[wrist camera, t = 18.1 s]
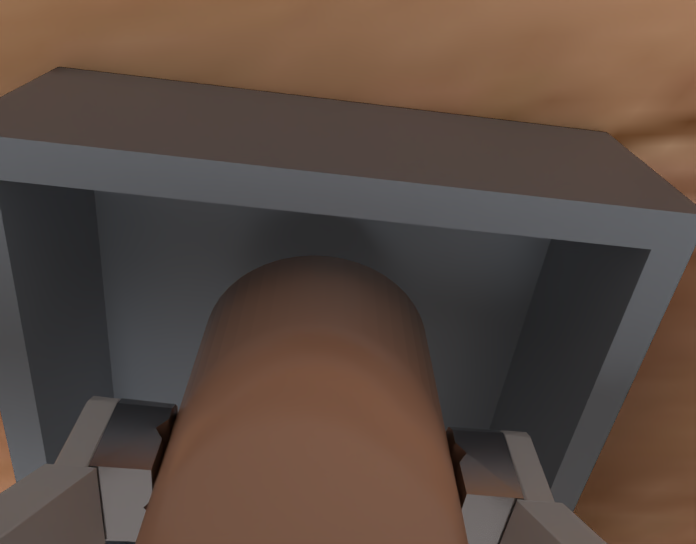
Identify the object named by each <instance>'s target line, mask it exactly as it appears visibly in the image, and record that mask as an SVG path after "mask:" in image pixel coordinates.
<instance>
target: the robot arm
mask: <svg viewBox="0 0 696 544" xmlns="http://www.w3.org/2000/svg"><path fill="white" fill-rule="evenodd" d="M177 414H178V406H177V405H176V404H170V403H161V402H152V401H142V400H133V399H124V398H121V399H117V398H109V397H100V396H93V397H92V398H90V399H89V400H88V401H87V403H86V404H85V406H84V408H83V410H82V412H81V414H80V416H79V418H78V420H77V422H76V423H75V425H74V427H73V429H72V431H71V433H70V435H69V437H68V439H67V441H66V443H65V444H64V446H63V448H62V450H61V452H60V454H59V456H58V458H57V460H56V462H55V463H54V464H44V465H43V466H41V467H40V468H38V469H37V470H35V471H34V472H32V473H31V474H29V475H28V476H26V477H25V478H23V479H22V480H20V481H18V482H17V483H15V484H14V485H12V486H11V487H9V488H8V489H6V490H5V491H3V492H2V493H0V544H105V541H130V542H136V540H137V537H138V534H139V530H140V527H141V524H142V521H143V518H144V515H145V512H146V509H147V506H148V503H149V500H150V497H151V494H152V491H153V488H154V485H155V481H156V478H157V475H158V472H159V469H160V466H161V463H162V460H163V457H164V454H165V451H166V448H167V445H168V442H169V439H170V435H171V432H172V429H173V426H174V423H175V420H176V417H177ZM446 436H447V441H448V446H449V451H450V456H451V461H452V465H453V470H454V475H455V480H456V485H457V490H458V495H459V500H460V505H461V510H462V515H463V520H464V524H465V529H466V534H467V539H468V544H607V543H606V542H605V541H604V540H603V539H602V538H601V537H599V536H598V535H597V534H596V533H595V532H594V531H593V530H592V529H591V528H590V527H588V526H587V525H586V524H585V523H584V522H583V521H582V520H581V519H580V518H579V517H577V516H576V515H575V514H574V513H573V512H572V511H571V510H570V509H569V508H568V507H566V506H565V505H564V504H563V503H557V502H555V501H554V499H553V496H552V493H551V491H550V488H549V485H548V483H547V480H546V477H545V475H544V472H543V469H542V466H541V464H540V461H539V458H538V456H537V453H536V450H535V448H534V445H533V442H532V440H531V437H530V436H529V435H528V433H527V432H517V431H503V430H500V431H498V430H487V429H474V428H460V427H448V428H447V430H446Z"/></svg>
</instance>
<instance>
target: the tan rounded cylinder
mask: <svg viewBox="0 0 696 544" xmlns="http://www.w3.org/2000/svg"><path fill="white" fill-rule="evenodd" d="M135 544H468V539H467V534H466V529H465V524H464V520H463V515H462V510H461V505H460V500H459V495H458V490H457V485H456V480H455V475H454V470H453V465H452V461H451V456H450V451H449V446H448V441H447V436H446V431H445V426H444V421H443V416H442V411H441V406H440V402H439V397H438V392H437V387H436V382H435V377H434V372H433V367H432V362H431V357H430V352H429V347H428V343H427V338H426V333H425V328H424V325H423V322H422V319H421V316H420V314H419V312H418V311H417V309H416V307H415V305H414V304H413V302H412V301H411V300H410V298H409V297H408V296H407V294H406V293H405V292H404V291H403V290H402V289H401V288H400V287H399V286H398V285H396V284H395V283H394V282H393V281H391V280H390V279H389V278H387V277H386V276H384V275H383V274H381V273H379V272H377V271H376V270H374V269H372V268H369V267H367V266H365V265H362V264H360V263H357V262H353V261H350V260H346V259H342V258H336V257H330V256H297V257H291V258H286V259H281V260H277V261H274V262H271V263H268V264H265V265H263V266H261V267H259V268H256V269H254V270H252V271H250V272H249V273H247V274H246V275H244V276H243V277H241V278H240V279H238V280H237V281H236V282H235V283H234V284H232V285H231V286H230V287H229V288H228V289H227V290H226V291H225V292H224V294H223V295H222V296H221V297H220V298H219V300H218V302H217V303H216V305H215V306H214V308H213V310H212V312H211V315H210V317H209V319H208V322H207V325H206V328H205V331H204V334H203V337H202V341H201V344H200V347H199V350H198V353H197V356H196V359H195V362H194V365H193V368H192V371H191V374H190V377H189V380H188V383H187V386H186V390H185V393H184V396H183V399H182V402H181V405H180V408H179V411H178V414H177V417H176V420H175V423H174V426H173V429H172V432H171V435H170V439H169V442H168V445H167V448H166V451H165V454H164V457H163V460H162V463H161V466H160V469H159V472H158V475H157V478H156V481H155V485H154V488H153V491H152V494H151V497H150V500H149V503H148V506H147V509H146V512H145V515H144V518H143V521H142V524H141V527H140V530H139V534H138V537H137V540H136V543H135Z"/></svg>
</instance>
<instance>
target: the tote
mask: <svg viewBox="0 0 696 544" xmlns="http://www.w3.org/2000/svg"><path fill="white" fill-rule="evenodd" d="M695 246H696V204H694V203H693V202H692V201H691V200H689V199H688V198H687V197H686V196H684V195H683V194H682V193H681V192H680V191H678V190H677V189H676V188H675V187H673V186H672V185H671V184H670V183H668V182H667V181H666V180H665V179H664V178H662V177H661V176H660V175H659V174H657V173H656V172H655V171H654V170H652V169H651V168H650V167H649V166H648V165H646V164H645V163H644V162H643V161H641V160H640V159H639V158H638V157H636V156H635V155H634V154H633V153H632V152H630V151H629V150H628V149H627V148H625V147H624V146H623V145H622V144H620V143H619V142H618V141H617V140H616V139H614V138H613V137H612V136H611V135H609V134H608V133H607V132H599V131H591V130H583V129H574V128H566V127H557V126H549V125H541V124H532V123H524V122H516V121H507V120H499V119H490V118H482V117H474V116H465V115H457V114H449V113H440V112H432V111H424V110H415V109H407V108H398V107H390V106H382V105H373V104H365V103H357V102H348V101H340V100H331V99H323V98H315V97H306V96H298V95H290V94H281V93H273V92H265V91H256V90H248V89H239V88H231V87H223V86H214V85H206V84H198V83H189V82H181V81H172V80H164V79H156V78H147V77H139V76H131V75H122V74H114V73H106V72H97V71H89V70H80V69H72V68H64V67H57V68H55V69H53V70H51V71H49V72H48V73H46V74H44V75H42V76H40V77H38V78H36V79H34V80H32V81H30V82H28V83H27V84H25V85H23V86H21V87H19V88H17V89H15V90H13V91H11V92H9V93H7V94H6V95H4V96H2V97H0V411H1V416H2V420H3V425H4V429H5V434H6V438H7V443H8V447H9V452H10V456H11V461H12V465H13V469H14V474H15V478H16V483H17V482H18V481H20V480H22V479H23V478H25V477H26V476H28V475H29V474H31V473H32V472H34V471H35V470H37V469H38V468H40V467H41V466H43V465H44V464H54V463H55V462H56V460H57V458H58V456H59V454H60V452H61V450H62V448H63V446H64V444H65V443H66V441H67V439H68V437H69V435H70V433H71V431H72V429H73V427H74V425H75V423H76V422H77V420H78V418H79V416H80V414H81V412H82V410H83V408H84V406H85V404H86V403H87V401H88V400H89V399H90V398H92V397H93V396H100V397H109V398H117V399H121V398H124V399H133V400H142V401H152V402H161V403H170V404H176V405H177V406H178V411H179V408H180V405H181V402H182V399H183V396H184V393H185V390H186V386H187V383H188V380H189V377H190V374H191V371H192V368H193V365H194V362H195V359H196V356H197V353H198V350H199V347H200V344H201V341H202V337H203V334H204V331H205V328H206V325H207V322H208V319H209V317H210V315H211V312H212V310H213V308H214V306H215V305H216V303H217V302H218V300H219V298H220V297H221V296H222V295H223V294H224V292H225V291H226V290H227V289H228V288H229V287H230V286H231V285H232V284H234V283H235V282H236V281H237V280H238V279H240V278H241V277H243V276H244V275H246V274H247V273H249V272H250V271H252V270H254V269H256V268H259V267H261V266H263V265H265V264H268V263H271V262H274V261H277V260H281V259H286V258H291V257H297V256H330V257H336V258H342V259H346V260H350V261H353V262H357V263H360V264H362V265H365V266H367V267H369V268H372V269H374V270H376V271H377V272H379V273H381V274H383V275H384V276H386V277H387V278H389V279H390V280H391V281H393V282H394V283H395V284H396V285H398V286H399V287H400V288H401V289H402V290H403V291H404V292H405V293H406V294H407V296H408V297H409V298H410V300H411V301H412V302H413V304H414V305H415V307H416V309H417V311H418V312H419V314H420V316H421V319H422V322H423V325H424V328H425V333H426V338H427V343H428V347H429V352H430V357H431V362H432V367H433V372H434V377H435V382H436V387H437V392H438V397H439V402H440V406H441V411H442V416H443V421H444V426H445V431H446V430H447V428H448V427H460V428H474V429H487V430H498V431H500V430H503V431H517V432H527V433H528V435H529V436H530V437H531V440H532V442H533V445H534V448H535V450H536V453H537V456H538V458H539V461H540V464H541V466H542V469H543V472H544V475H545V477H546V480H547V483H548V485H549V488H550V491H551V493H552V496H553V499H554V501H555V502H557V503H563V504H564V505H565V506H566V507H568V508H569V509H570V510H571V511H572V512H573V511H574V508H575V506H576V504H577V502H578V500H579V498H580V495H581V493H582V491H583V489H584V487H585V485H586V482H587V480H588V478H589V476H590V474H591V472H592V469H593V467H594V465H595V463H596V461H597V459H598V456H599V454H600V452H601V450H602V448H603V446H604V443H605V441H606V439H607V437H608V435H609V433H610V430H611V428H612V426H613V424H614V422H615V419H616V417H617V415H618V413H619V411H620V409H621V406H622V404H623V402H624V400H625V398H626V396H627V393H628V391H629V389H630V387H631V385H632V383H633V380H634V378H635V376H636V374H637V372H638V370H639V367H640V365H641V363H642V361H643V359H644V357H645V354H646V352H647V350H648V348H649V346H650V344H651V341H652V339H653V337H654V335H655V333H656V331H657V328H658V326H659V324H660V322H661V320H662V318H663V315H664V313H665V311H666V309H667V307H668V305H669V302H670V300H671V298H672V296H673V294H674V292H675V289H676V287H677V285H678V283H679V281H680V279H681V276H682V274H683V272H684V270H685V268H686V265H687V263H688V261H689V259H690V257H691V255H692V252H693V250H694V248H695ZM135 543H136V542H130V541H105V544H135Z"/></svg>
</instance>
